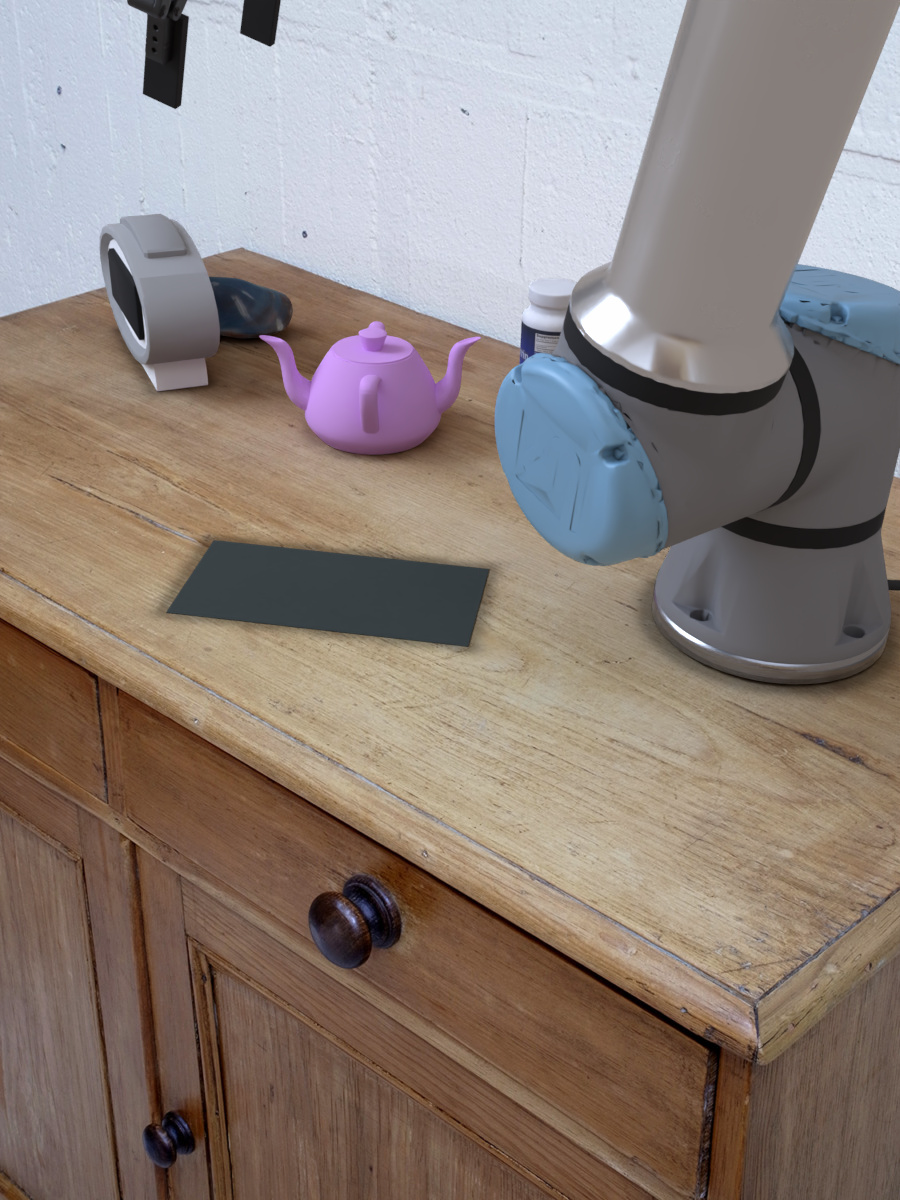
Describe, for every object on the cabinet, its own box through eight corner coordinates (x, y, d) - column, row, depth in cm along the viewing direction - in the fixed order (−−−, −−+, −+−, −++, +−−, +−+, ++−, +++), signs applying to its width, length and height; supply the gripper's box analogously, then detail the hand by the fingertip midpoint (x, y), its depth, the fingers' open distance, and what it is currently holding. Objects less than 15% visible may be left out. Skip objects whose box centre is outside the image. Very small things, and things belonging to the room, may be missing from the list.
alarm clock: (106, 320, 133) (91, 191, 126) (167, 313, 135) (156, 187, 128) (154, 406, 114) (140, 261, 108) (224, 397, 117) (214, 255, 110)
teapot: (478, 434, 111) (482, 334, 107) (348, 479, 103) (347, 373, 99) (389, 391, 119) (390, 296, 114) (262, 430, 111) (257, 329, 106)
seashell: (306, 312, 128) (260, 235, 131) (220, 338, 124) (175, 259, 127) (298, 351, 133) (254, 277, 136) (215, 377, 129) (172, 300, 132)
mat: (489, 571, 92) (489, 568, 92) (468, 649, 84) (468, 646, 83) (213, 542, 94) (213, 539, 94) (166, 615, 86) (166, 612, 86)
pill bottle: (519, 378, 122) (525, 273, 117) (580, 382, 122) (589, 277, 117) (515, 402, 117) (522, 294, 112) (580, 406, 117) (589, 297, 112)
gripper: (288, -301, 92) (252, -2, 107) (77, -238, 75) (69, 107, 90) (383, -262, 91) (332, 34, 106) (191, -189, 74) (163, 151, 89)
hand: (211, 68), depth 98 cm, fingers open, 13 cm apart
